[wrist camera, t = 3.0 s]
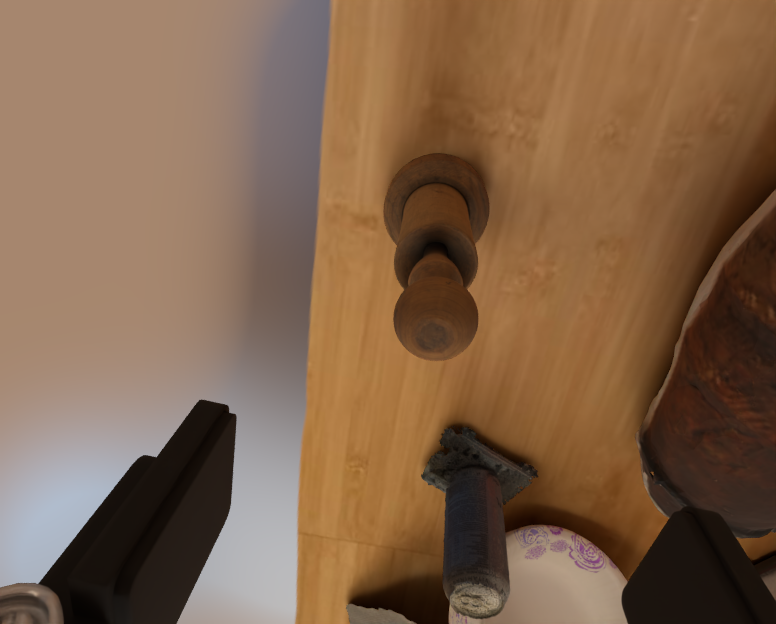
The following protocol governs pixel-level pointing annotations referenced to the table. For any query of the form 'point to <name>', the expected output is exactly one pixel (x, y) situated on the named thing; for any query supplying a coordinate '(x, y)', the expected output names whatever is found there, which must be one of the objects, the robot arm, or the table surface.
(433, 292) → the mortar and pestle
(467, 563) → the dark pedestal with base
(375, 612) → the grey rough mound
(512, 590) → the paper bowls
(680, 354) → the clay pot
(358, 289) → the table surface
